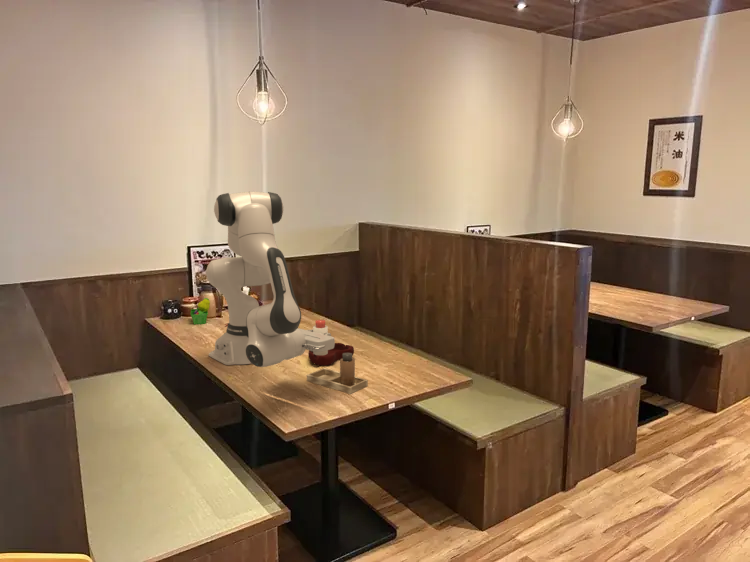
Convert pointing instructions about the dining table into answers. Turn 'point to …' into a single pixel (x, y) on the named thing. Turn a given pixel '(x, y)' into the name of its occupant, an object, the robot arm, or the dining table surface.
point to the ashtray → (331, 355)
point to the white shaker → (320, 329)
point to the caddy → (335, 380)
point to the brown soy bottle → (347, 370)
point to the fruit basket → (201, 312)
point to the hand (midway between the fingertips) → (322, 333)
